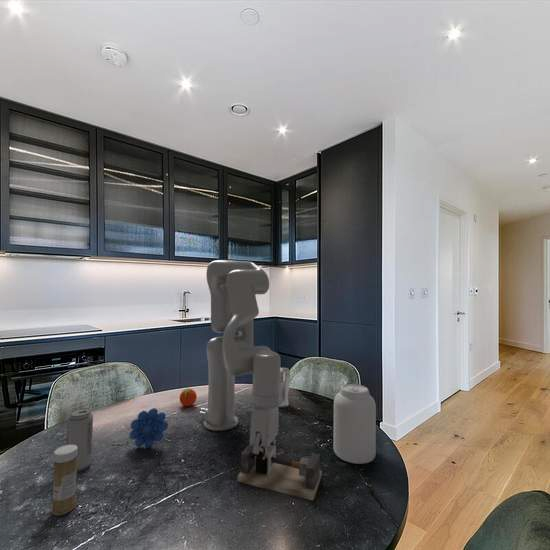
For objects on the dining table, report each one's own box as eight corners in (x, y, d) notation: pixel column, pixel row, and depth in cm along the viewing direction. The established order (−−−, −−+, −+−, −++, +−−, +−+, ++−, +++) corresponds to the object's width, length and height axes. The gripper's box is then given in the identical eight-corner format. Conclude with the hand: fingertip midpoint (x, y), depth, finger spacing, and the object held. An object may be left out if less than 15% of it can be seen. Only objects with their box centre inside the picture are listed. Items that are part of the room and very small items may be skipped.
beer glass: (288, 408, 129) (288, 372, 129) (271, 407, 130) (272, 370, 131) (290, 402, 135) (291, 367, 136) (275, 401, 137) (275, 366, 137)
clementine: (193, 410, 126) (193, 392, 126) (176, 410, 126) (176, 392, 126) (198, 402, 134) (198, 386, 134) (182, 402, 134) (182, 385, 134)
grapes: (171, 440, 102) (171, 402, 102) (165, 451, 95) (165, 411, 96) (134, 440, 101) (135, 403, 102) (126, 451, 95) (127, 411, 95)
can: (369, 470, 87) (369, 397, 87) (327, 456, 93) (327, 389, 94) (380, 450, 97) (380, 385, 98) (341, 439, 104) (342, 378, 104)
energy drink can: (68, 463, 88) (70, 409, 89) (93, 458, 91) (94, 406, 91) (63, 475, 83) (65, 418, 83) (90, 470, 85) (91, 414, 86)
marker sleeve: (254, 471, 82) (255, 452, 82) (262, 461, 87) (262, 443, 87) (269, 474, 81) (269, 455, 81) (275, 464, 85) (275, 445, 86)
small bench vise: (237, 481, 81) (238, 456, 81) (253, 461, 90) (253, 438, 91) (313, 500, 74) (313, 472, 74) (321, 476, 83) (321, 451, 84)
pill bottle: (48, 510, 70) (50, 449, 70) (72, 499, 74) (73, 441, 74) (55, 520, 67) (57, 456, 68) (78, 508, 71) (80, 448, 71)
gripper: (265, 387, 94) (264, 448, 93) (239, 408, 78) (238, 482, 77) (289, 390, 91) (288, 453, 90) (267, 412, 75) (266, 489, 74)
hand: (265, 466), depth 84 cm, fingers closed on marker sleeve, 5 cm apart
